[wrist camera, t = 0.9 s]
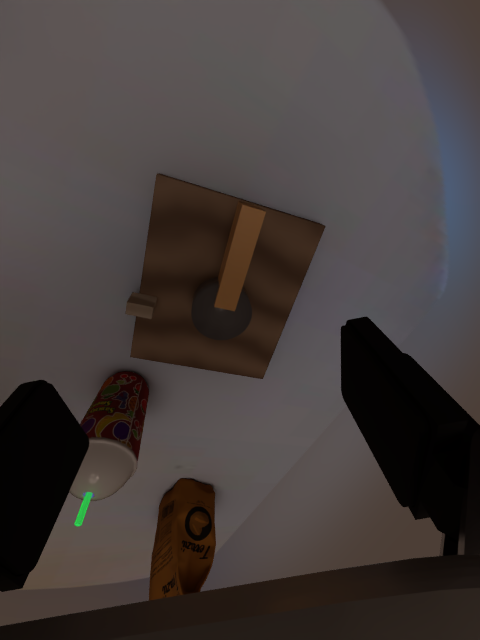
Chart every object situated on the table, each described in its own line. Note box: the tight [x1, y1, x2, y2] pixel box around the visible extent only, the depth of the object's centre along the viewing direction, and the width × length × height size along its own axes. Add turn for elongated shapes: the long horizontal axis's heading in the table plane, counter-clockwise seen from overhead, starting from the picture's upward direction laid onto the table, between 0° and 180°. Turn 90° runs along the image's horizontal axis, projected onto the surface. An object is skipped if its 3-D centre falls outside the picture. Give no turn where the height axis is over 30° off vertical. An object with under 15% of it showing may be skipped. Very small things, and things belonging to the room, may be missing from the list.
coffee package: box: [149, 478, 216, 600], centre depth 51 cm, size 10×12×22 cm
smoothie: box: [69, 371, 149, 526], centre depth 36 cm, size 8×8×20 cm
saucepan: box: [191, 201, 266, 340], centre depth 32 cm, size 16×7×4 cm, turn 164°
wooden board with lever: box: [126, 173, 325, 379], centre depth 37 cm, size 24×21×5 cm
